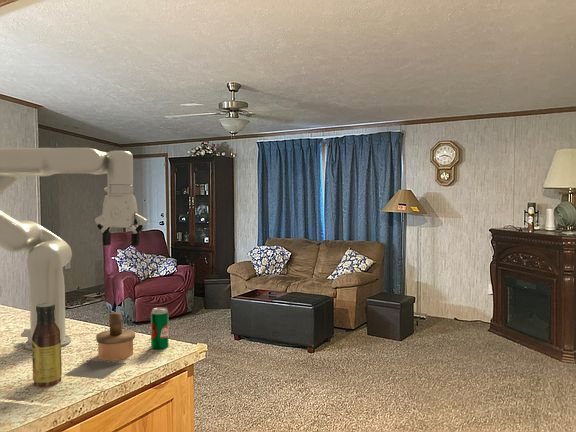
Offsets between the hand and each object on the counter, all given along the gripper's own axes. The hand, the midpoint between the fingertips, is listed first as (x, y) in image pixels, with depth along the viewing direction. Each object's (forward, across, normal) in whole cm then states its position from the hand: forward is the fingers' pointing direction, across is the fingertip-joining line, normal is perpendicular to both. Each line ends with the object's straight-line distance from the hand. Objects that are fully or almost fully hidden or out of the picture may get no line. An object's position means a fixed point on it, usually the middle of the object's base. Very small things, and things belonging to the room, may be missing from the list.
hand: (120, 245), depth 146 cm
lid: (+25, +6, -13) cm, 29 cm away
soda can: (+31, +15, -4) cm, 34 cm away
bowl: (+30, +6, -13) cm, 33 cm away
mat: (+30, +7, -24) cm, 39 cm away
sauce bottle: (+31, +1, -34) cm, 46 cm away
